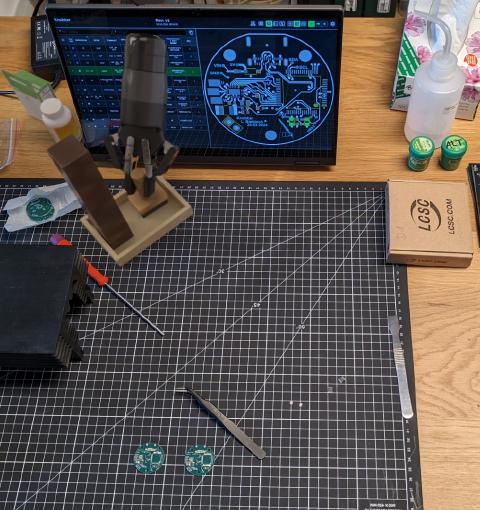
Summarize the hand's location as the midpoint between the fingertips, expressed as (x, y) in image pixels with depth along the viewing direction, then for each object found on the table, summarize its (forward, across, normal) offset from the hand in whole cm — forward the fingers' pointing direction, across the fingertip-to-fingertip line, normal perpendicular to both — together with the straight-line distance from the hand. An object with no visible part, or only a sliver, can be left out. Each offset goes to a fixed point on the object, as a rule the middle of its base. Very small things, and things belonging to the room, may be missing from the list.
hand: (139, 195), depth 111 cm
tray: (+6, -1, +4) cm, 8 cm away
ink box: (-8, -28, +19) cm, 35 cm away
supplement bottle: (-5, -22, +16) cm, 27 cm away
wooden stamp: (+3, 0, +6) cm, 7 cm away
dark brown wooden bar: (+8, -4, +1) cm, 9 cm away
